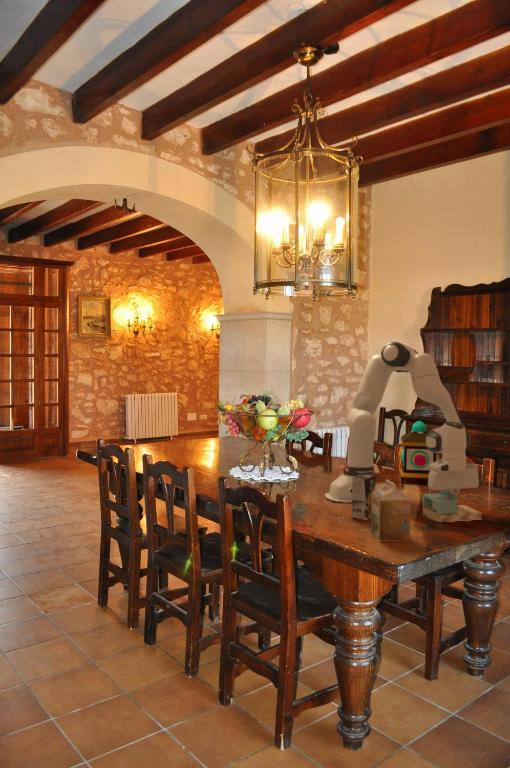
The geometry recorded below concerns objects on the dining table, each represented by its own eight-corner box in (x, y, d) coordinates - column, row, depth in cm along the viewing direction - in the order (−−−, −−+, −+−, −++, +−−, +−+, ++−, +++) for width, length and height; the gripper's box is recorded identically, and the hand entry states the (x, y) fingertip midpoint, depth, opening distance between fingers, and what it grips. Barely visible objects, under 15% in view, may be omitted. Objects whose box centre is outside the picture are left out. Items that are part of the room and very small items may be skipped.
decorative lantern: (441, 486, 291) (442, 423, 289) (398, 484, 294) (399, 422, 293) (436, 477, 310) (437, 419, 309) (396, 476, 314) (397, 418, 312)
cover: (438, 514, 227) (438, 497, 227) (422, 506, 239) (422, 489, 239) (457, 513, 229) (458, 496, 229) (441, 505, 241) (441, 489, 241)
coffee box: (367, 521, 230) (367, 478, 229) (351, 518, 234) (351, 476, 233) (375, 515, 238) (376, 474, 237) (360, 513, 241) (360, 473, 241)
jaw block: (437, 518, 232) (437, 502, 232) (431, 515, 236) (431, 500, 236) (446, 517, 233) (446, 502, 233) (441, 515, 237) (441, 499, 236)
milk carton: (409, 540, 206) (410, 485, 205) (379, 541, 206) (380, 485, 205) (399, 531, 217) (400, 478, 216) (370, 532, 216) (371, 479, 215)
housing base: (438, 523, 228) (438, 515, 227) (422, 514, 239) (422, 507, 239) (481, 520, 232) (481, 512, 232) (463, 512, 243) (464, 504, 243)
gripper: (473, 462, 240) (472, 496, 241) (426, 464, 235) (425, 499, 236) (482, 464, 234) (482, 500, 235) (434, 467, 229) (434, 503, 230)
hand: (453, 500), depth 235 cm, fingers closed
